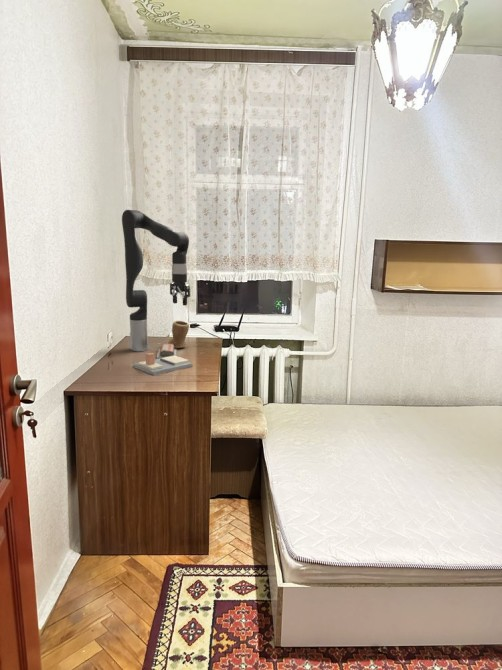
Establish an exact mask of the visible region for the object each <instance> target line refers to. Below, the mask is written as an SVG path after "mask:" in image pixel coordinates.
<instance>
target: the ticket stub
mask: <svg viewBox="0 0 502 670" xmlns="http://www.w3.org/2000/svg"><path fill="white" fill-rule="evenodd" d="M155 359H156V356H155V353H153V352H148V353H145V360H144V361H139V362H137V363H138V364H139V365H141V366H144V367H146V368H149V369H151V370H154V369H158V368H163V366H162V365H160V364H157V363H155Z"/></svg>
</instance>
